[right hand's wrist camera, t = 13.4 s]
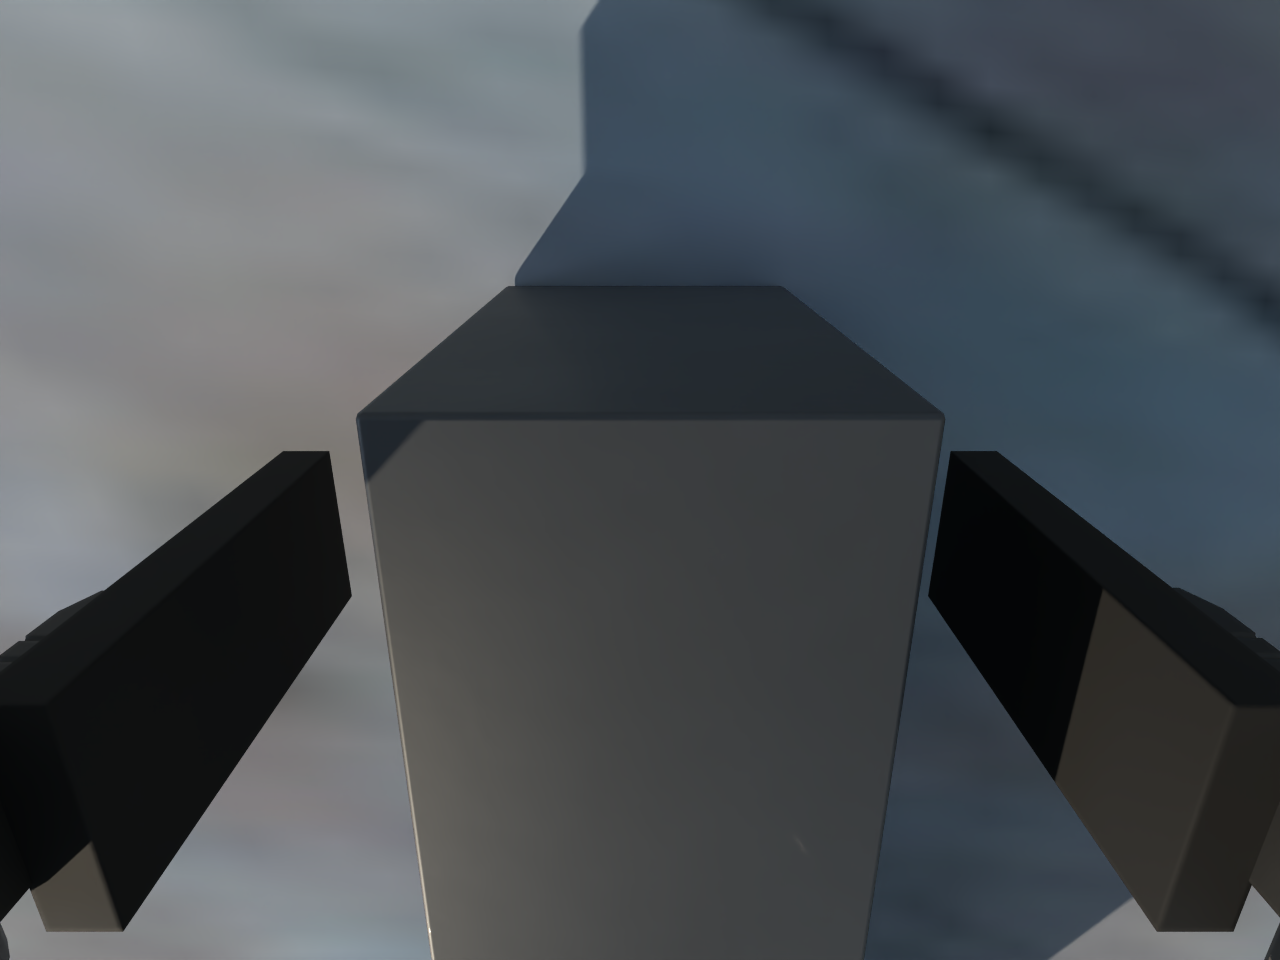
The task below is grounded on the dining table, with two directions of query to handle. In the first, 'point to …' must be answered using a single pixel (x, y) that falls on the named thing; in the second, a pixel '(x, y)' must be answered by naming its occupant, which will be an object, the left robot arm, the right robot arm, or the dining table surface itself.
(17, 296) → the dining table surface
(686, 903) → the beam
